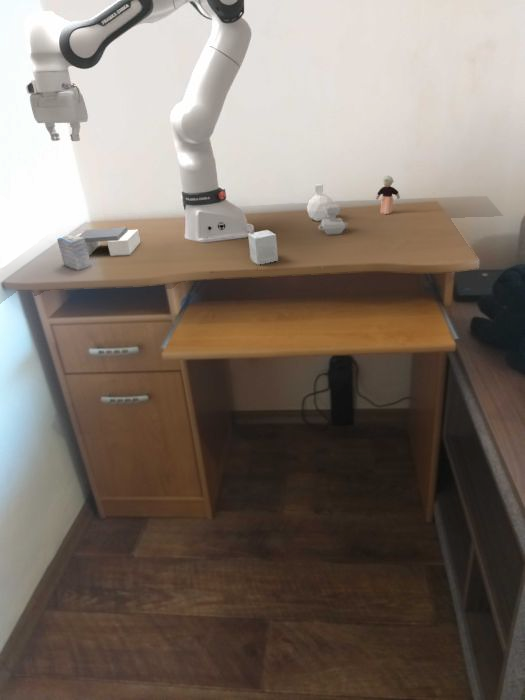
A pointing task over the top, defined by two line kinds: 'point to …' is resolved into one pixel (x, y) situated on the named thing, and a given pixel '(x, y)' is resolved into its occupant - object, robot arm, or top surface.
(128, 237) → the cutout shelf
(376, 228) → the top surface
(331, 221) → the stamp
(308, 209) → the perfume bottle
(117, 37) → the robot arm
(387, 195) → the grandmother figurine
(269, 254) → the skincare box
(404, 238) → the top surface
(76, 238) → the medicine box
